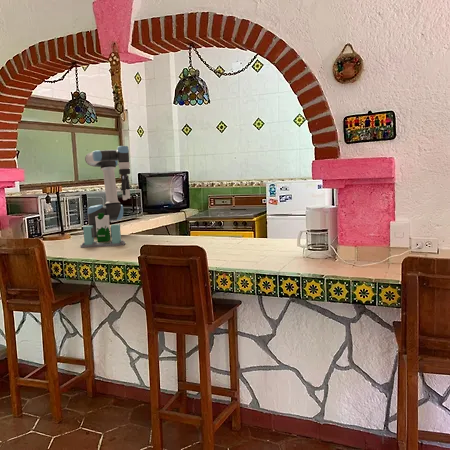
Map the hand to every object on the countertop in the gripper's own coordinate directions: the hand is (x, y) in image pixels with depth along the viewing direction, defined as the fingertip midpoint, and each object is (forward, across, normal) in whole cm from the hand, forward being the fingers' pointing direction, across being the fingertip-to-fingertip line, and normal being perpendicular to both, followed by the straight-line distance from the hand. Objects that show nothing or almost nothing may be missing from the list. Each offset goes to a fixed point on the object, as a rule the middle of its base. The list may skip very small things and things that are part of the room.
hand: (126, 199), depth 335 cm
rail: (+29, +20, -14) cm, 38 cm away
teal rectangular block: (+27, +20, -23) cm, 41 cm away
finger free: (+27, +20, -5) cm, 34 cm away
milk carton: (+29, -1, -18) cm, 34 cm away
